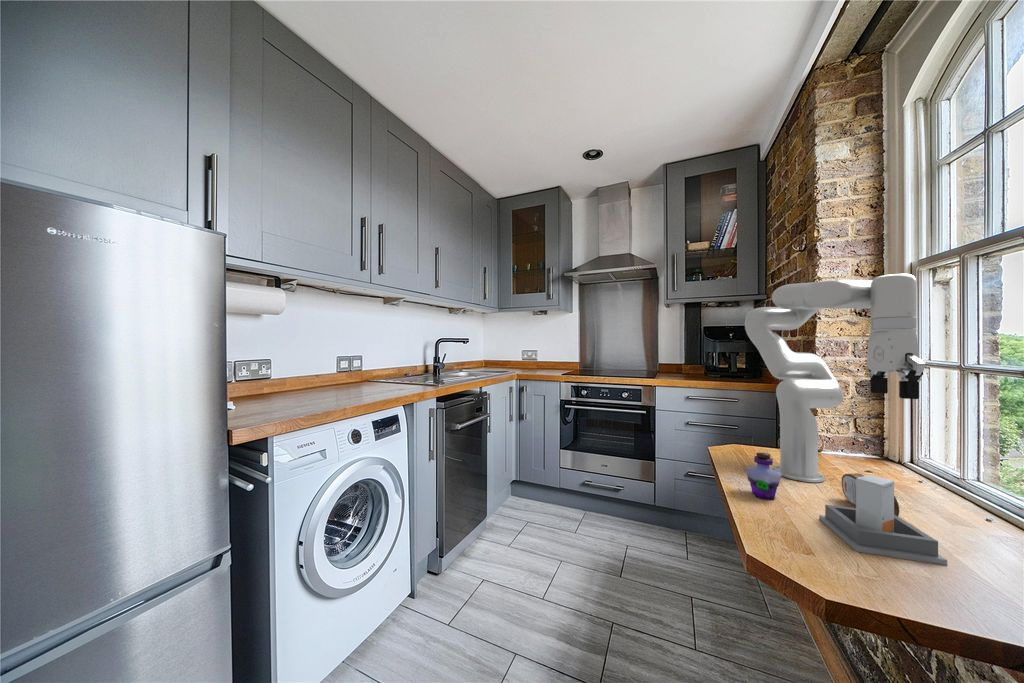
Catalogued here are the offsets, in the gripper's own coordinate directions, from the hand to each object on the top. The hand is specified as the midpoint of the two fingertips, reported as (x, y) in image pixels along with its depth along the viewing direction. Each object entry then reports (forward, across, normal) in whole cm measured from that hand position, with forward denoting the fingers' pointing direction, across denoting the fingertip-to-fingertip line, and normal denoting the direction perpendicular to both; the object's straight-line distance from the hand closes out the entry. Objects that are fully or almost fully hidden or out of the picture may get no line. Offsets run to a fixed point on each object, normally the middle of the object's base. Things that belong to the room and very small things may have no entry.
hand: (893, 395), depth 84 cm
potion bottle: (+31, -6, -25) cm, 40 cm away
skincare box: (+30, +12, -10) cm, 33 cm away
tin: (+31, -4, -3) cm, 31 cm away
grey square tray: (+30, +12, -10) cm, 34 cm away
